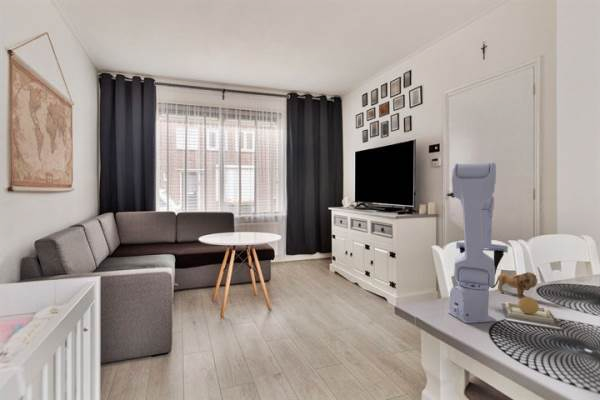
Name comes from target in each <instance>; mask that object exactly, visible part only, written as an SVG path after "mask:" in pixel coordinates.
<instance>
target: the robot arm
mask: <svg viewBox="0 0 600 400" xmlns="http://www.w3.org/2000/svg"><path fill="white" fill-rule="evenodd" d="M451 169H452V170H451V184H452V185H451V187H452V193H453V197H454V198H456V199H458V200H459V201H460V205H461V209H462V219H463V220H462V221H463V238H464V239H463V240H464V241H462V242H461V241H456V242H455V243H456V245H455V248H456V249H459V253H458V255H457V256H456V258H455V261H454V267H453V268H454V269H453V270H454V272H453V273H454V274H453V277H454V280H455V282H456V283H458V285H457V286H453V287H452V288H451V290H450V292H449V310H447V312H448V314H450V315H451V316H454V317H455V318H456V319H459V320H460V321H462V322H464V324H465V323H466V324H473V323H474V324H475V323H487V322H496V321H497V319H496V318H495V317H492V316H490V315H489V303H490V301H489V299H490V295H489V294H490V288H491V287H493V286H494V285H495V284H496V282H495V281H496V274H497V269H498V266H499V264H500V262H501V260H502V258H504V255H505V254H504V253H506V254H507V253H508V250H509V246H508V245H502V244H494V243H492V239H493V238H492V234H493V233H492V229H493V225H492V224H493V216H494V209H495V197H494V193H495V188H496V187H495V185H496V181H497V179H496V177H497V166H496V163H495V162H494V161H490V162H477V163H476V162H475V163H454V165H453V166H452V168H451ZM484 251H489V252H493V258H492V257H491V256H490V255H488V254H486V253H485V252H484Z"/></svg>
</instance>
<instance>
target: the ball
mask: <svg viewBox="0 0 600 400" xmlns="http://www.w3.org/2000/svg"><path fill="white" fill-rule="evenodd" d="M517 304H518V305H519V308H520V310H521V311H523V312H524V313H526V314H534V313H536V312H537V311H538V309H539V307H540V306H539V303H538V301H537V300H536V299H534V298H532V297H529V296H525V297H522V298H521V299H519V301H518V303H517Z"/></svg>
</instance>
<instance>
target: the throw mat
mask: <svg viewBox="0 0 600 400" xmlns="http://www.w3.org/2000/svg"><path fill="white" fill-rule="evenodd" d="M501 307H502V310H503V315H504V317H505V321H506V322H508V323H512V324H519V325H523V326H530V327H536V328H541V329H548V330H553V331H559V332H562V330H563V329H562V328H561V327H560V325H559V324H558V322H557V321H556V319H555V317H554V316H553V314H552V312H551V311H550V310H549V309H547V307H541V306H539V309H538V311H537V312H536V313H534V314H526V313H524V312H523V311H521V310H520V308H519V305H518V303H515V302H508V301H505V303H501Z"/></svg>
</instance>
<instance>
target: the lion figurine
mask: <svg viewBox="0 0 600 400" xmlns="http://www.w3.org/2000/svg"><path fill="white" fill-rule="evenodd" d="M495 281H496V282H495V284H494V286H493V287H490V289H494V288H496V286H497V289H498V291H499V293H500V294H504V293H505V291H504V290H503V286H505V285H507V286H508V287H510V288H513V289H516V292H517V293H516V294H517V299H519V300H520V299H521V298H523V297H526V295H524V292H525V291H529V290H530V289H532V288H535V287H536V286H537V284H538V278H537V275H536V274H535V273H534V272H528V271H527V272H524V273H522V274H517V275H516V276H511V275H509V274H507V273H504V272H503V273H500V274H499V275H498V276H497V279H496V280H495Z"/></svg>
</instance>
